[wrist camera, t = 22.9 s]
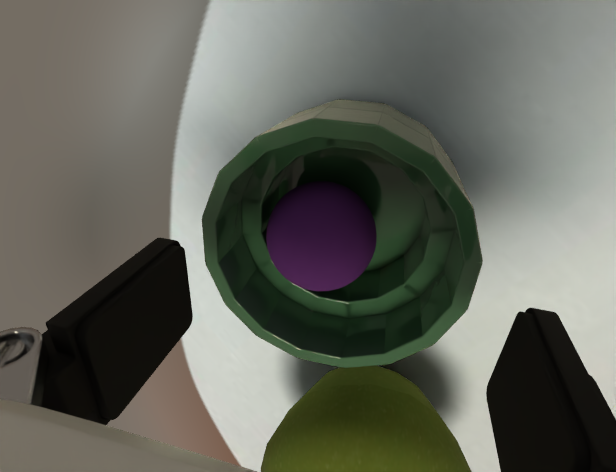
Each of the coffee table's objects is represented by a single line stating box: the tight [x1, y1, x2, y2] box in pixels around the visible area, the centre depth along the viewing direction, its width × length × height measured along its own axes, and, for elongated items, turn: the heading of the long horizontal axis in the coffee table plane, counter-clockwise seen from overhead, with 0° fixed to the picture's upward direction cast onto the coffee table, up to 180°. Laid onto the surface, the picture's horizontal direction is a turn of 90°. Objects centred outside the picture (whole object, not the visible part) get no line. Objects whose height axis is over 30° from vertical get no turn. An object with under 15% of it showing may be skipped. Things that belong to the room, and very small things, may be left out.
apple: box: [261, 366, 471, 472], centre depth 20 cm, size 11×10×10 cm
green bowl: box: [202, 99, 483, 368], centre depth 17 cm, size 10×10×6 cm
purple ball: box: [266, 181, 377, 291], centre depth 17 cm, size 5×5×5 cm
